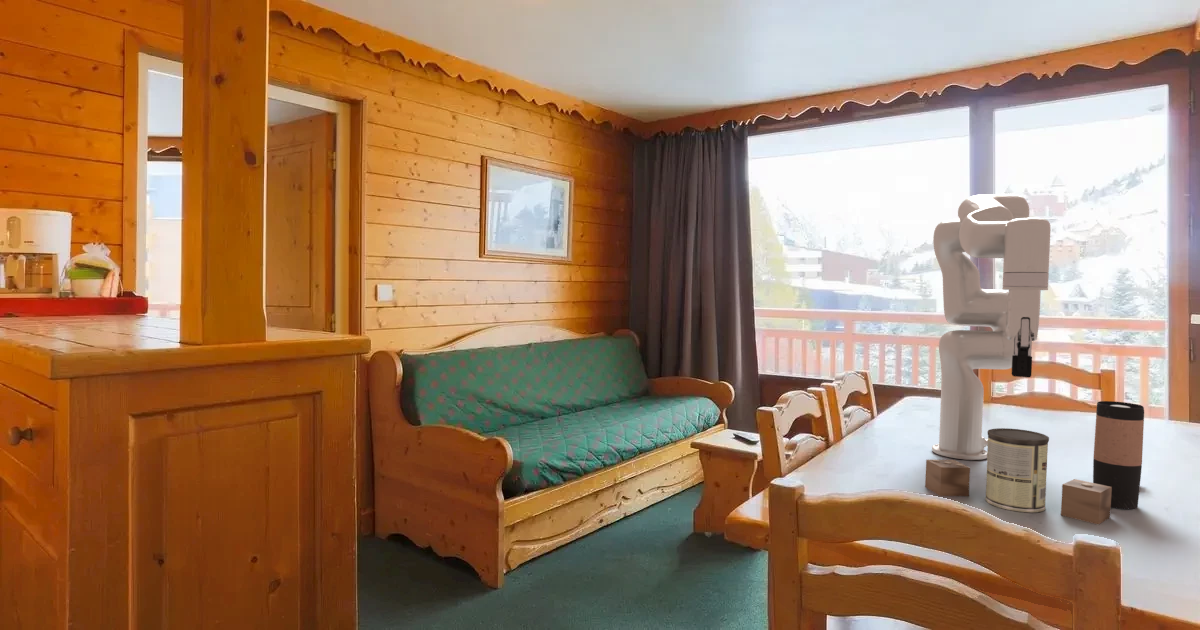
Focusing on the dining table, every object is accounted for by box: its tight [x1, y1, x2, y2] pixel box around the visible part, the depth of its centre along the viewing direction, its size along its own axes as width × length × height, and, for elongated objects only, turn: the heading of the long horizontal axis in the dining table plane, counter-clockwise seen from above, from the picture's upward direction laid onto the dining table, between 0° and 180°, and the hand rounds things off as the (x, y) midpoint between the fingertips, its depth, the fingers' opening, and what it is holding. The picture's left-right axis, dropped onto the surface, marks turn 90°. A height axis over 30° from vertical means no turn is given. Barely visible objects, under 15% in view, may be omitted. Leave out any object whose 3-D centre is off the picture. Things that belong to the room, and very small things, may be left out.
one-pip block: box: [1060, 478, 1112, 526], centre depth 127 cm, size 6×6×6 cm
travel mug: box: [1092, 400, 1145, 511], centre depth 134 cm, size 8×8×20 cm
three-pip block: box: [924, 459, 971, 497], centre depth 141 cm, size 6×6×6 cm
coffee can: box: [984, 427, 1050, 513], centre depth 133 cm, size 10×10×14 cm
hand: (1021, 376), depth 132 cm, fingers closed
